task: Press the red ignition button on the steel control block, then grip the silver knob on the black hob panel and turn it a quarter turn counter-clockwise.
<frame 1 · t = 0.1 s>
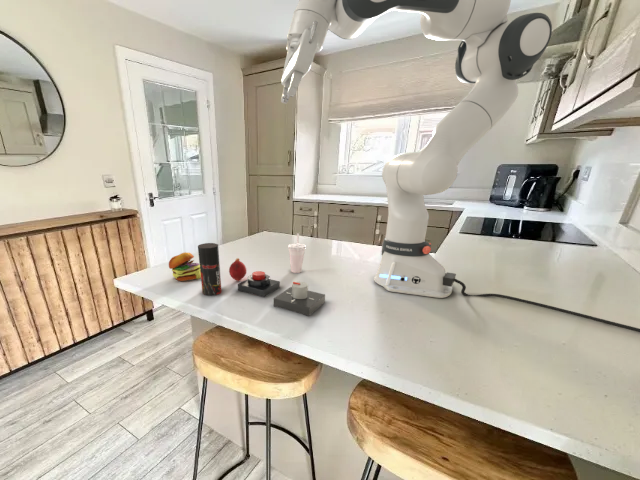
hand: (287, 99, 78), 52 cm above the countertop, tool tilted 20°, fingers open, 8 cm apart
smoothie: (296, 271, 112), on the countertop
cheeseburger: (186, 277, 109), on the countertop
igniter: (259, 289, 98), on the countertop
hob panel: (299, 304, 87), on the countertop
deodorant: (212, 292, 96), on the countertop
onion: (238, 281, 105), on the countertop
hob knob: (299, 289, 85), point 4 cm above the countertop, hinge at 0.0°
ignite button: (258, 275, 96), point 4 cm above the countertop, slide at 0.1 cm
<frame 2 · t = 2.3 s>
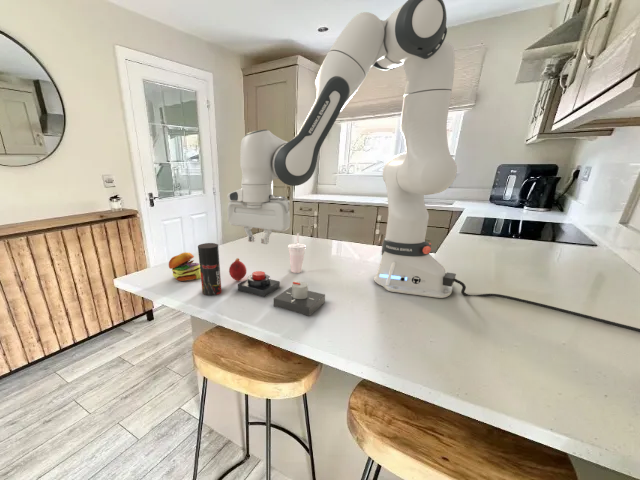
hand: (258, 242, 92), 15 cm above the countertop, tool pointing down, fingers open, 3 cm apart
nothing on the countertop moved.
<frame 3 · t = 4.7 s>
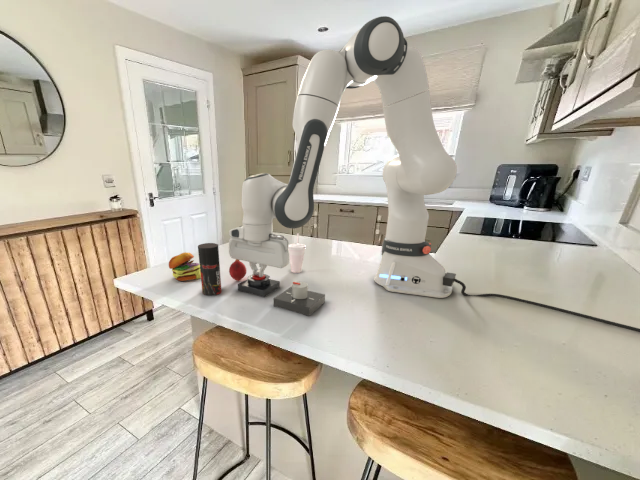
hand: (258, 276, 96), 4 cm above the countertop, tool pointing down, fingers closed, pressing on ignite button
ignite button: (258, 278, 96), point 4 cm above the countertop, slide at -0.8 cm, touching gripper
everything else where it was.
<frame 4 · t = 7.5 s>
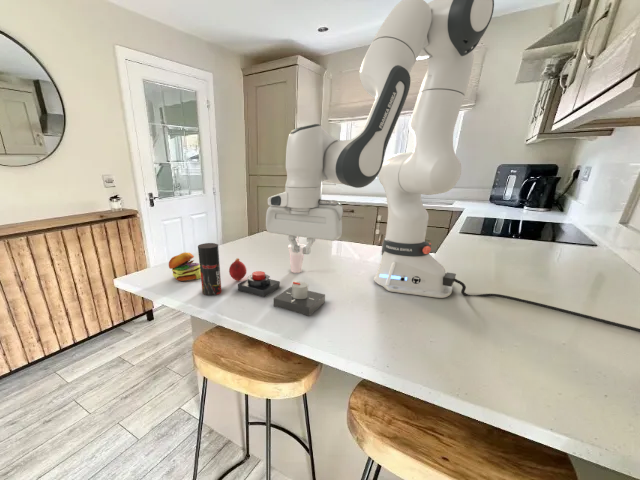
hand: (301, 252, 81), 15 cm above the countertop, tool pointing down, fingers closed
ignite button: (258, 275, 96), point 4 cm above the countertop, slide at 0.1 cm
everything else where it was.
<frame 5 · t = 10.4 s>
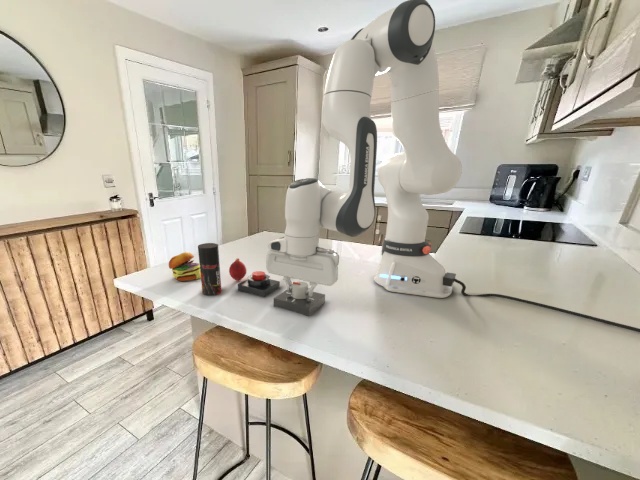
hand: (299, 293, 85), 3 cm above the countertop, tool pointing down, fingers closed on hob knob, 4 cm apart
hob knob: (299, 289, 85), point 4 cm above the countertop, hinge at 0.0°, touching gripper
everything else where it was.
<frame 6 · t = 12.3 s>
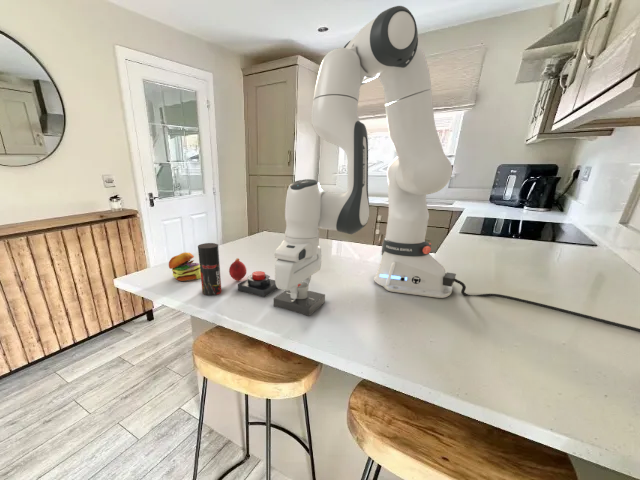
hand: (299, 294, 86), 3 cm above the countertop, tool pointing down, fingers closed on hob knob, 4 cm apart
hob knob: (299, 289, 85), point 4 cm above the countertop, hinge at 92.4°, touching gripper
everything else where it was.
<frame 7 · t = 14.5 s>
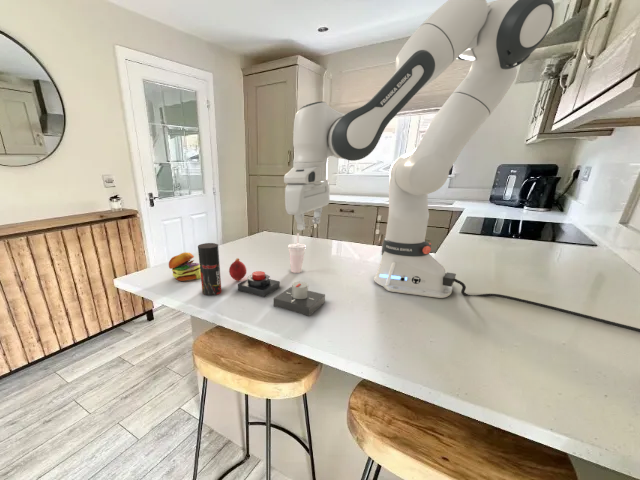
hand: (309, 226, 86), 20 cm above the countertop, tool pointing down, fingers open, 8 cm apart
hob knob: (299, 289, 85), point 4 cm above the countertop, hinge at 92.2°
everything else where it was.
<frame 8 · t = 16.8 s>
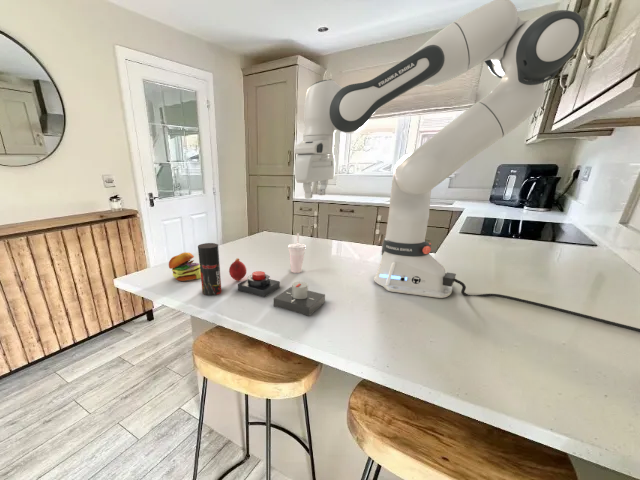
hand: (315, 196, 94), 27 cm above the countertop, tool pointing down, fingers open, 8 cm apart
nothing on the countertop moved.
at the end: ignite button pushed in 1.0 cm at the most during the clip, back to where it started at the end; ignite button slide at 0.1 cm; hob knob at +92° (first picture: +0°) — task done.
